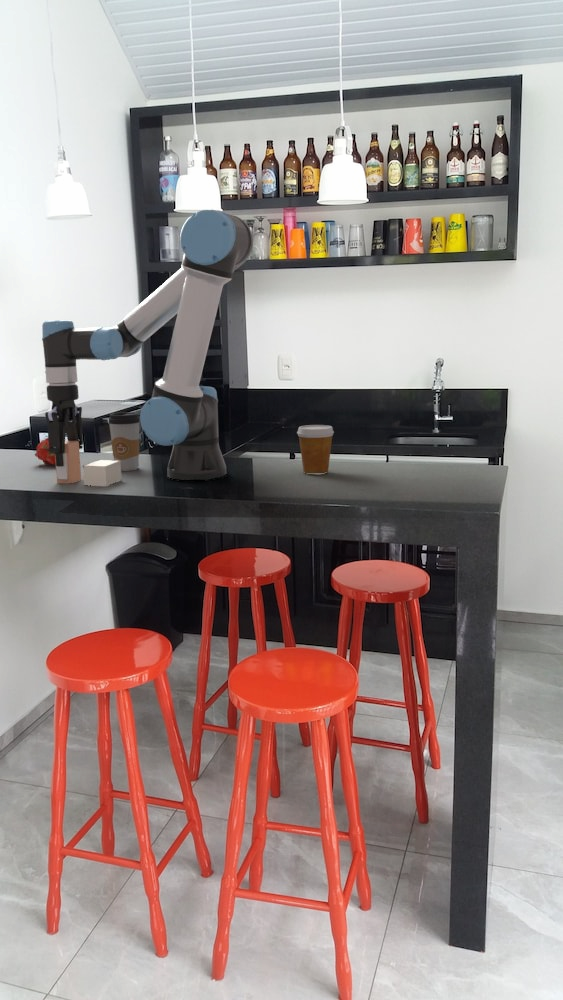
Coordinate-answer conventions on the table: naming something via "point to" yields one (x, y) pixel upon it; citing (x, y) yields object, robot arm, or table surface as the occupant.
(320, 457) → the disposable coffee cup
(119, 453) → the coffee cup
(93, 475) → the cream white block
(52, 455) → the dragon fruit
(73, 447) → the salmon orange rectangular block
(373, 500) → the table surface
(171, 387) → the robot arm
